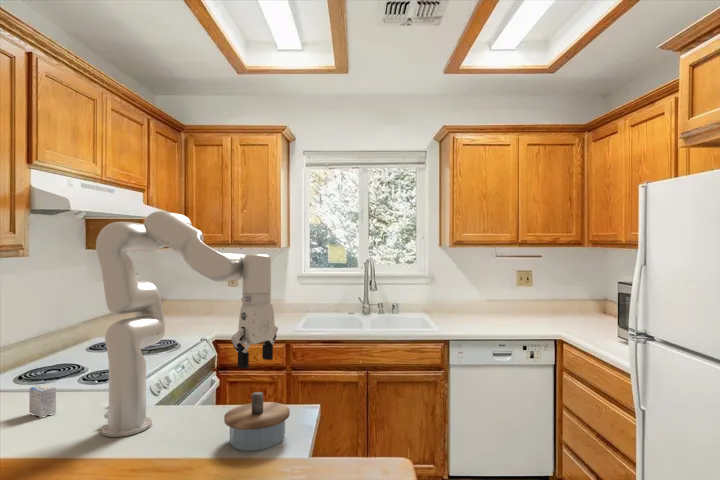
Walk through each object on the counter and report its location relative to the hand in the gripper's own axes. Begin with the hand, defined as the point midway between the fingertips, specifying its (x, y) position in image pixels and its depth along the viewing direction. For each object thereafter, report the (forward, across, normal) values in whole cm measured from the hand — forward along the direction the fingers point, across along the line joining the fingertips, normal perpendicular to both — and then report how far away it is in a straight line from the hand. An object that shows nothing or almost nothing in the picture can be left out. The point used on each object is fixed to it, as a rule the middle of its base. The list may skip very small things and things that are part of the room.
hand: (255, 363), depth 112 cm
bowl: (+20, 0, -1) cm, 20 cm away
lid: (+14, 0, -1) cm, 14 cm away
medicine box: (+22, -14, +76) cm, 80 cm away
